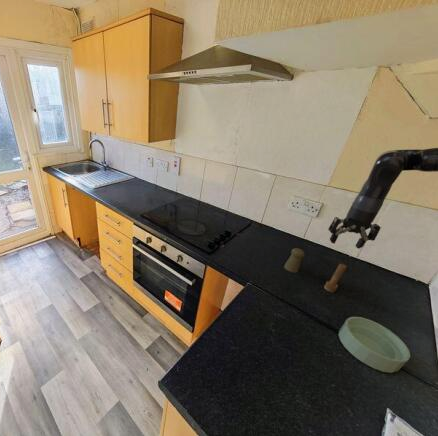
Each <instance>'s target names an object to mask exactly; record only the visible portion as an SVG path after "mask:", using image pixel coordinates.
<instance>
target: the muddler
mask: <svg viewBox="0 0 438 436" xmlns="http://www.w3.org/2000/svg"><path fill="white" fill-rule="evenodd" d="M346 269H347V265H346V264H344V263H339V264H338V266H337V267H336V269H335V271H334V273H333V275H332V276H331V278H330V280H326V282H325V284H324V285H323V288H324V290H325V291H327V292H330V293H336V291H337V289H338V288H339V285H338V282H339V281H340V280H341V277H342V276H343V274H344V272H345V270H346Z"/></svg>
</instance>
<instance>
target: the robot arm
mask: <svg viewBox="0 0 438 436" xmlns="http://www.w3.org/2000/svg"><path fill="white" fill-rule="evenodd" d="M404 171H418V172H428V173H437V172H438V147H431V148H424V149H392V150H391V149H390V150H387V151H384V152H382V153H380V154H378V156H377V157H376V158H375V160H374V164H373V166H372V168H371V171H370V173H369V175H368V177H367V179H366V180H365V181H364V183H363V184H362V186H361V187H360V189H359V192H358V194H357V195H356V197H355V198H354V200H353V201H352V202H351V205H350V208H349V210H347V211H348V212H347V214H346V216H345V218H339V217H338V216H335V217H334V218H333V220H332V222H331V223H330V225H329V227H328V229H327V230H328V231H329V232H330V234H331V235H330V238H329V241H330V243H331V244H334V245H335V244H336V242H337V240H338V238H339V236H340V235H341V234H342V235H343V234H345V233H347V232H348V233H354V234H359V236H360V237H359V238H358V240H357V242H356V244H355V248H357V249H362V248H363V247H364V246H365V244H366V243H367V242H368V241H373V242H374V241H375V240H376V238H377V236H378V235H379V233H380V230H381V229H382V227H381V226H380V225H379V224H377V223H373V222H374V221H375V219H376V217H377V216H378V213H379V212H380V210H381V209H382V207H383V204H384V202H385V200H386V198H387V196H388V194H389V193H390V191H391V189H392V187H393V185H394V183H395V182H396V180H397V179H398V178H399V176H400V175H401V173H402V172H404ZM372 223H373V224H372ZM368 229H370V230H369V232H368V234H367V230H368Z"/></svg>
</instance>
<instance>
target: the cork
mask: <svg viewBox="0 0 438 436" xmlns="http://www.w3.org/2000/svg"><path fill="white" fill-rule="evenodd" d="M305 255H306V253H305V251H304V250H303V249H301V248H299V247H295V248H294V247H293V248H292V249H291V255H290V256H289V258H288V259H287V261H286V262H285V264H284V265H283V268H284V269H285V270H286V271H288V272H289V273H292V274H293V273H294V274H295V273H298V272H299V269H300V265H301V262H302V258H304V257H305Z"/></svg>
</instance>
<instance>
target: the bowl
mask: <svg viewBox="0 0 438 436" xmlns="http://www.w3.org/2000/svg"><path fill="white" fill-rule="evenodd" d="M338 339H339V340H340V342H341V344H342V345H343V347H344V348H345V350H347V351H348V352H349V353H350V354H351V355H352V356H353V357H354V358H356V360H359V361H360V362H361V363H363V364H365V365H366V366H368V367H370V368H372V369H375V370H377V371H379V372H380V371H381V372H383V373H389V374H392V373H396V372H398V371H400V369H401V368H402V367H403V366H404V365H405V364H406V363H407V362H409V360H410V358H411V352H410V349H409V348H408V346H407V344H406V343H405V342H404V341H403V340H402V339H401V338H400V337H399V336H398V335H396V334H395V333H394V332H393V331H391V330H390V329H388V328H387V327H385V326H384V325H382V324H380V323H378V322H375V321H374V320H371V319H370V318H369V319H368V318H365V317H361V316H349V317H348V318H346V320H345V321H344V323H343V324H342V326H341V327H340V328H339V330H338Z"/></svg>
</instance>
